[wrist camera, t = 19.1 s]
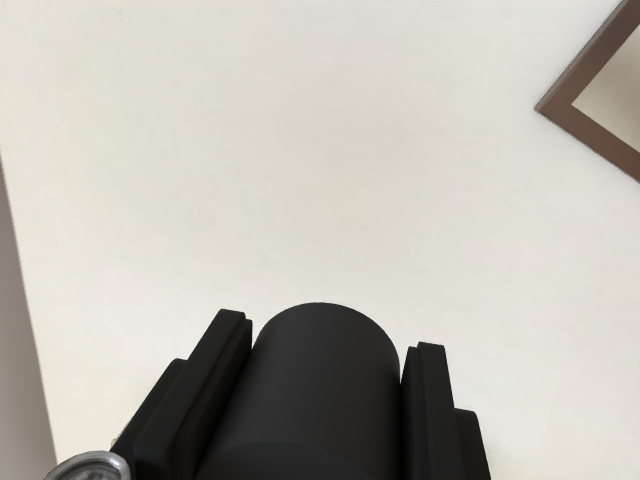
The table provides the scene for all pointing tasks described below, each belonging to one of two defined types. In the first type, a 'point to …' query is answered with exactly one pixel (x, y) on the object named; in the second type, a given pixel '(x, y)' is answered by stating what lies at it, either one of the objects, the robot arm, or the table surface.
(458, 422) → the robot arm
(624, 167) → the picture frame
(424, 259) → the table surface
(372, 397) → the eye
